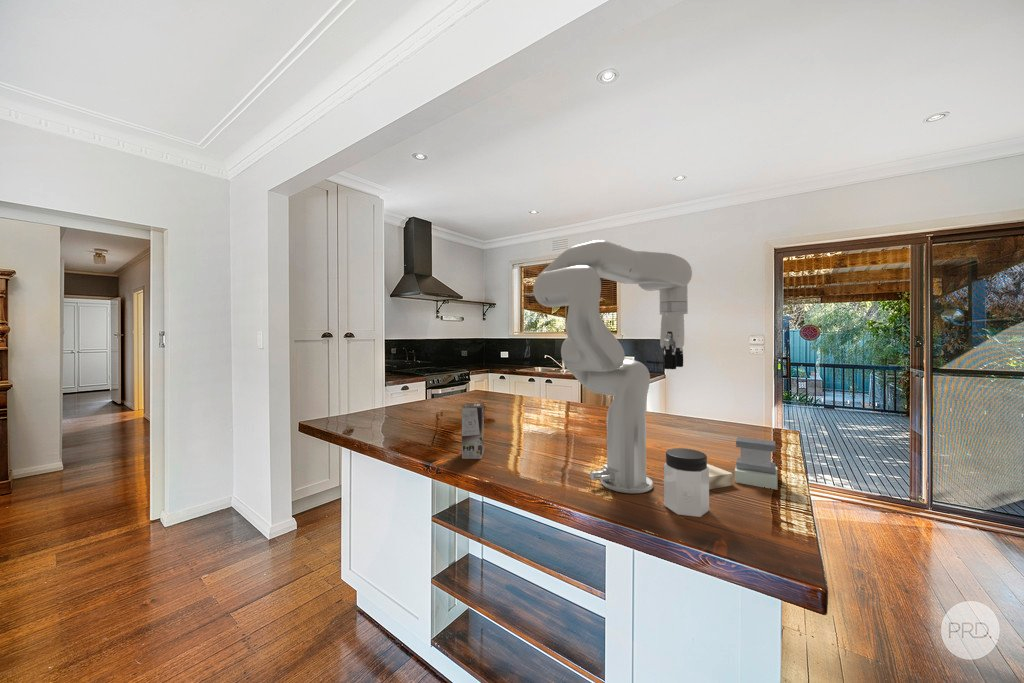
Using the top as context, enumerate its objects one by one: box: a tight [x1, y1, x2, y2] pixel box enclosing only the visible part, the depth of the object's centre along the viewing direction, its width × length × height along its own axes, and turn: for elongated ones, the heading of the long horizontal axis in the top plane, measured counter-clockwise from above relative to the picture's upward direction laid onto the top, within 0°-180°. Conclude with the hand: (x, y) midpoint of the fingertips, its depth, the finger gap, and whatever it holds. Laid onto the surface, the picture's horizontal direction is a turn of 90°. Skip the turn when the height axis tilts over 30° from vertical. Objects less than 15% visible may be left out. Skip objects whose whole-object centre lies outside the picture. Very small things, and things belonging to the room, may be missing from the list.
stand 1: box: [707, 463, 734, 490], centre depth 99 cm, size 9×9×3 cm
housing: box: [735, 436, 777, 475], centre depth 99 cm, size 8×5×7 cm, turn 56°
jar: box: [663, 447, 710, 518], centre depth 83 cm, size 9×8×12 cm
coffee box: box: [461, 402, 485, 460], centre depth 124 cm, size 9×6×16 cm
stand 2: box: [734, 466, 778, 490], centre depth 99 cm, size 9×9×3 cm
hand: (673, 367), depth 112 cm, fingers open, 9 cm apart
